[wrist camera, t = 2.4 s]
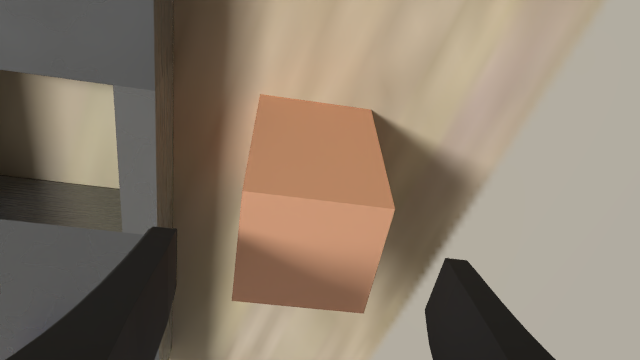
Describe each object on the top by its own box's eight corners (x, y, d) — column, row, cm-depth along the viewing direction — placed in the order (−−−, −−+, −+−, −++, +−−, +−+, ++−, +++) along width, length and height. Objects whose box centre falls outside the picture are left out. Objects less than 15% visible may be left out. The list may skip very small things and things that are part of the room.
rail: (171, 346, 25) (159, 391, 23) (0, 332, 24) (-28, 377, 22) (175, -307, 12) (148, -338, 10) (-192, -387, 11) (-304, -439, 9)
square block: (349, 199, 21) (363, 313, 16) (250, 187, 20) (232, 300, 15) (371, 109, 18) (395, 209, 13) (260, 94, 18) (242, 191, 13)
